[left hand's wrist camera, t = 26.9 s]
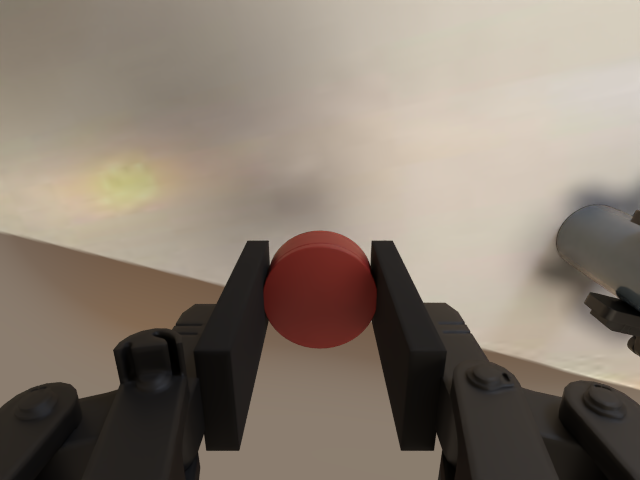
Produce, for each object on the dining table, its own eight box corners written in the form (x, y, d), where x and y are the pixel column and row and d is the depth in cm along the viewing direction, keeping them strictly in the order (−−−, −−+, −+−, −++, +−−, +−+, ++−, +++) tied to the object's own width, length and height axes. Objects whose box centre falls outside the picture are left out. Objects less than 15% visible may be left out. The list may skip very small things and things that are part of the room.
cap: (368, 324, 15) (373, 349, 14) (269, 322, 15) (264, 348, 14) (375, 230, 14) (382, 247, 12) (267, 228, 14) (260, 245, 12)
